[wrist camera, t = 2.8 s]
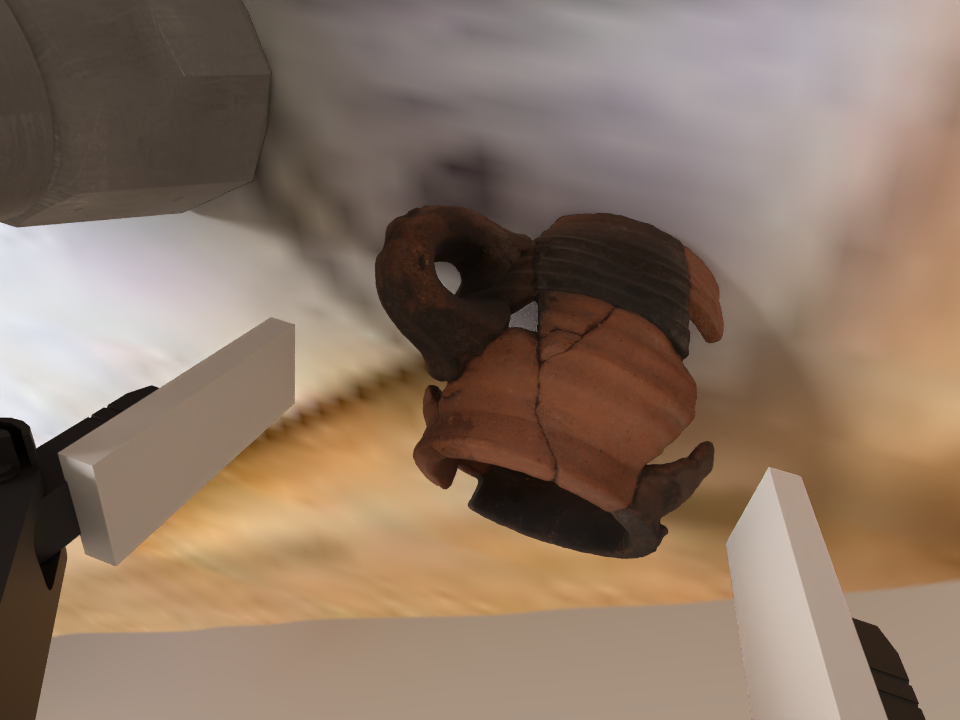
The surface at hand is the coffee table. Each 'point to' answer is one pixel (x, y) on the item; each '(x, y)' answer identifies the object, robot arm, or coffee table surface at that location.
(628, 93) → the coffee table surface
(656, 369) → the pottery mug
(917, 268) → the coffee table surface
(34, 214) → the coffeepot
